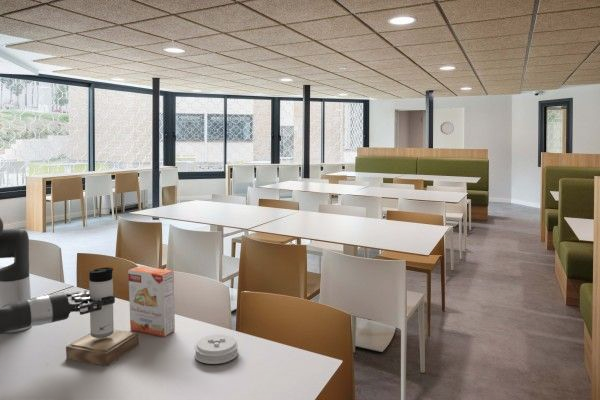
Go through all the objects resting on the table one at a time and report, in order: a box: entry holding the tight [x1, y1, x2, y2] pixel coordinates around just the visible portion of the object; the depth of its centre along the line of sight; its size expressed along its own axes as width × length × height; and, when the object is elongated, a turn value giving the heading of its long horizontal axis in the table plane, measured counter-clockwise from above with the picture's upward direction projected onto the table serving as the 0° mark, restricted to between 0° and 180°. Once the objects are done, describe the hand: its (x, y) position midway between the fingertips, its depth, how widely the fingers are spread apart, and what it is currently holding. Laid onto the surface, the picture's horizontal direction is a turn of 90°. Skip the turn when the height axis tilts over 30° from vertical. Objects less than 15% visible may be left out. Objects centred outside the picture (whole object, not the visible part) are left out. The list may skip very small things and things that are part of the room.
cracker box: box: [127, 265, 176, 338], centre depth 146 cm, size 14×6×21 cm, turn 68°
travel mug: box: [88, 266, 115, 338], centre depth 131 cm, size 6×7×20 cm
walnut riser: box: [65, 329, 140, 367], centre depth 133 cm, size 14×14×4 cm
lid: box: [194, 334, 239, 365], centre depth 131 cm, size 13×13×5 cm
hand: (109, 296), depth 132 cm, fingers closed on travel mug, 6 cm apart
